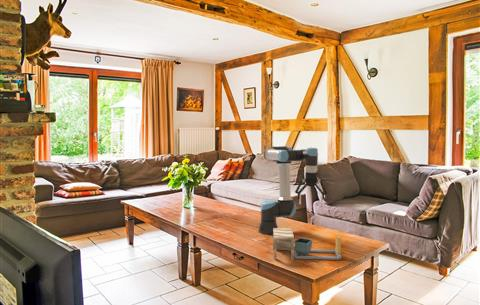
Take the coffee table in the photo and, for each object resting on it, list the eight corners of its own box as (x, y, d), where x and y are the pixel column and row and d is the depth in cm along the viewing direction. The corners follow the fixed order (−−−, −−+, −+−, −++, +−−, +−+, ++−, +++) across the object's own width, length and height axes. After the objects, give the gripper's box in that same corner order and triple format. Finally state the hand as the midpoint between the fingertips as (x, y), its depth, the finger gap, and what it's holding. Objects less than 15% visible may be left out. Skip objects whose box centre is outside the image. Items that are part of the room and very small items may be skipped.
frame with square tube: (292, 250, 230) (292, 232, 229) (337, 252, 228) (337, 233, 227) (293, 258, 216) (294, 238, 216) (341, 259, 214) (342, 240, 213)
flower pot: (293, 255, 222) (293, 241, 222) (299, 251, 230) (299, 237, 229) (307, 258, 218) (307, 243, 217) (312, 253, 225) (312, 239, 224)
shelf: (273, 249, 234) (273, 228, 233) (291, 249, 233) (291, 228, 232) (273, 259, 215) (273, 237, 214) (293, 260, 214) (294, 237, 213)
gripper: (292, 172, 229) (291, 205, 231) (332, 173, 226) (331, 206, 228) (291, 170, 236) (291, 202, 238) (330, 171, 234) (329, 203, 235)
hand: (310, 204), depth 233 cm, fingers open, 13 cm apart
